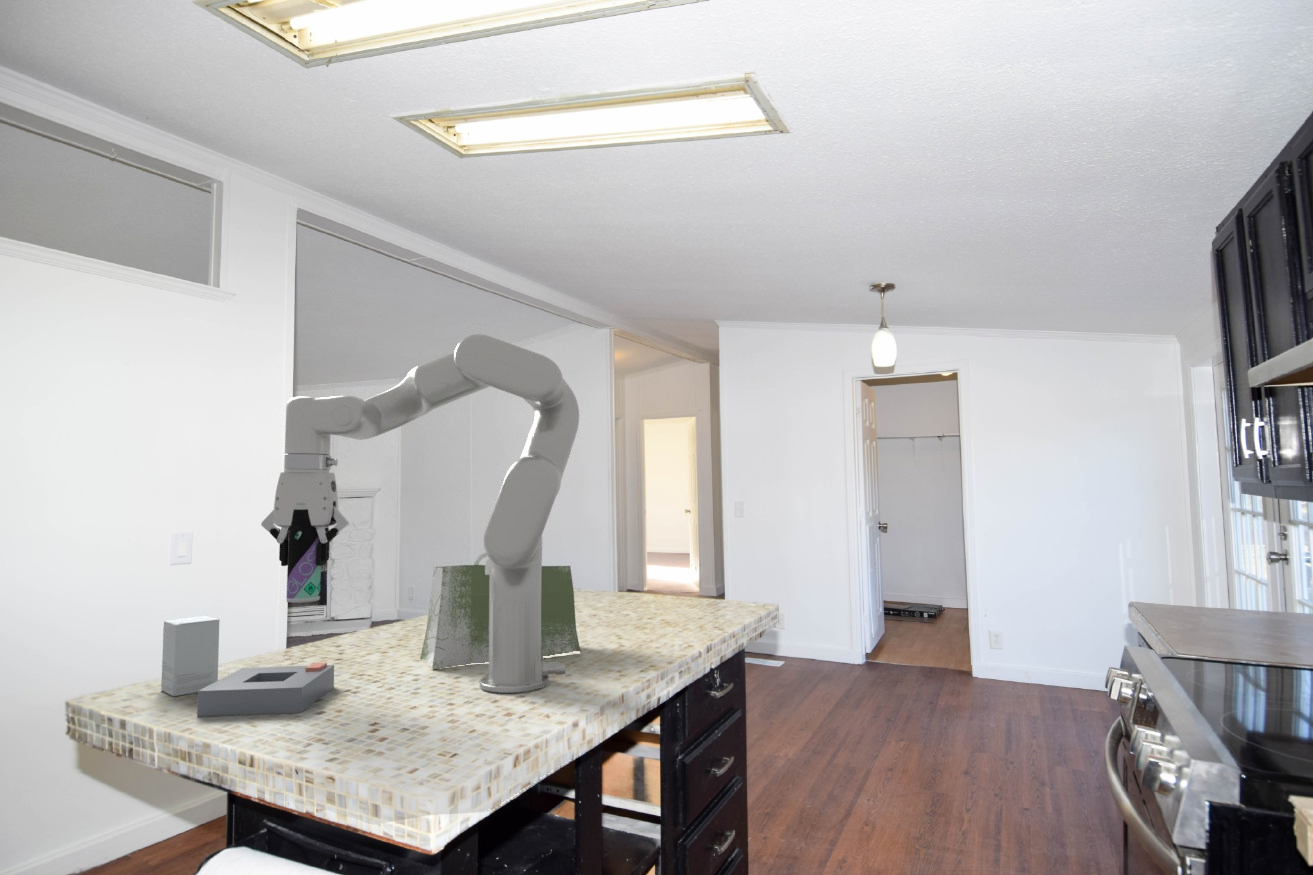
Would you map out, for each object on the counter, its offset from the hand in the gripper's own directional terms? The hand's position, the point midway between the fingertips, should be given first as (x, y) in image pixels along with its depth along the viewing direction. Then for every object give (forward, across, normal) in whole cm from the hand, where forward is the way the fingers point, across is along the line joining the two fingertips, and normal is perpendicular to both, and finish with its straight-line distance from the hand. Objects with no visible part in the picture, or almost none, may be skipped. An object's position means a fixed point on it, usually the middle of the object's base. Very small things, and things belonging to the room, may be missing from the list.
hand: (304, 564), depth 135 cm
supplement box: (+23, +21, -4) cm, 32 cm away
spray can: (+7, 0, 0) cm, 7 cm away
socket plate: (+23, +3, +5) cm, 24 cm away
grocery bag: (+23, -32, -26) cm, 47 cm away
